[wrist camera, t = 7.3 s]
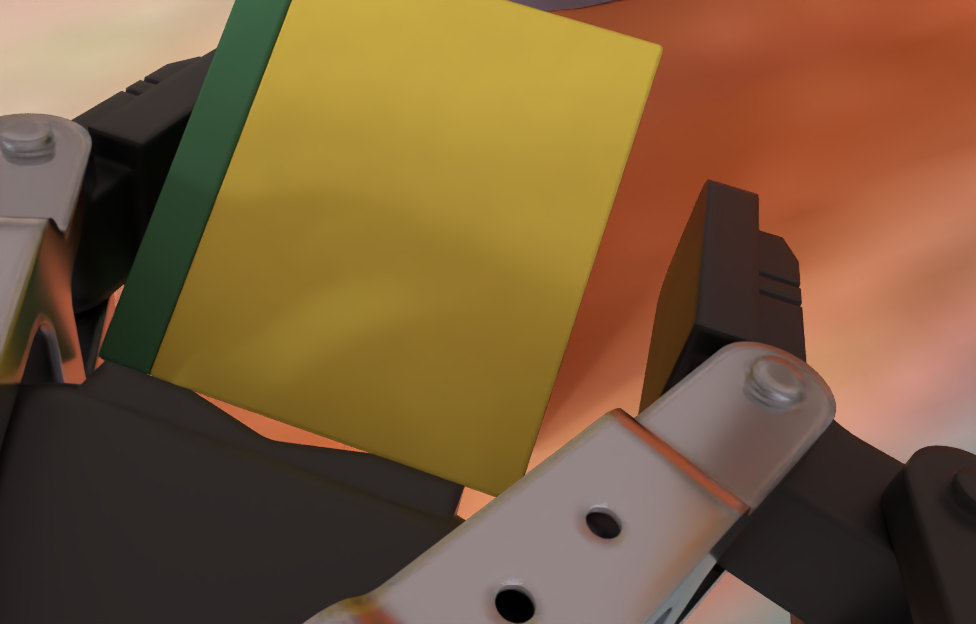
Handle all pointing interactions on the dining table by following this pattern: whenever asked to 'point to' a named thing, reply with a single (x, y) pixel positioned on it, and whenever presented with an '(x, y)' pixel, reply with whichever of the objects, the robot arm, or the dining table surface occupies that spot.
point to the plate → (559, 4)
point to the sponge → (388, 223)
